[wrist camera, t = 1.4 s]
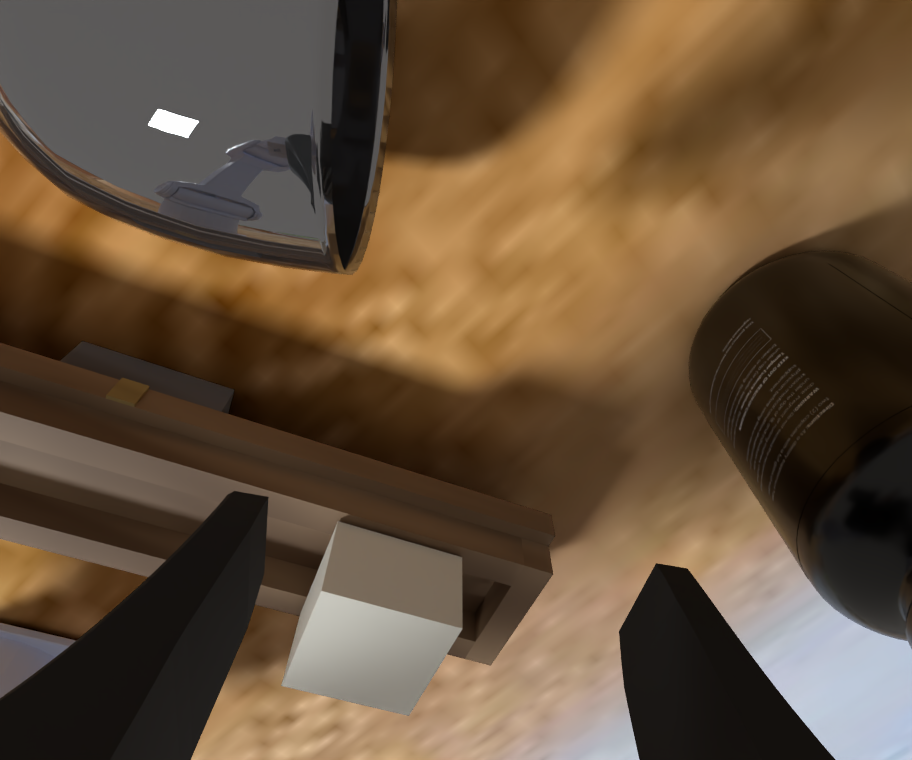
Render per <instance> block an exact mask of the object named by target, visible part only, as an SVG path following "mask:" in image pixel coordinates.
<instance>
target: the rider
mask: <svg viewBox="0 0 912 760" xmlns="http://www.w3.org/2000/svg"><path fill="white" fill-rule="evenodd" d="M462 629H463V624H462V557H459V556H456V555H453V554H449V553H446V552H442V551H439V550H435V549H432V548H428V547H425V546H422V545H418V544H415V543H411V542H408V541H404V540H401V539H397V538H394V537H391V536H387V535H384V534H380V533H377V532H373V531H370V530H366V529H363V528H360V527H356V526H353V525H349V524H346V523H342V522H339V521H338V522H337V525H336V527H335V529H334V532H333V534H332V537H331V539H330V542H329V544H328V547H327V549H326V552H325V554H324V557H323V559H322V561H321V564H320V566H319V569H318V571H317V574H316V576H315V579H314V581H313V584H312V586H311V588H310V591H309V593H308V596H307V598H306V601H305V603H304V606H303V608H302V611H301V613H300V617H299V621H298V624H297V628H296V632H295V636H294V640H293V643H292V647H291V651H290V655H289V659H288V662H287V666H286V670H285V674H284V678H283V681H282V685H281V686H284V687H289V688H293V689H297V690H301V691H306V692H310V693H314V694H318V695H323V696H327V697H331V698H335V699H339V700H344V701H348V702H352V703H356V704H361V705H365V706H369V707H373V708H378V709H382V710H386V711H390V712H395V713H399V714H403V715H407V716H409V715H410V713H411V711H412V710H413V708H414V707H415V705H416V703H417V702H418V700H419V698H420V697H421V695H422V694H423V692H424V690H425V689H426V687H427V685H428V684H429V682H430V681H431V679H432V677H433V676H434V674H435V673H436V671H437V669H438V668H439V666H440V664H441V663H442V661H443V660H444V658H445V656H446V655H447V653H448V651H449V650H450V648H451V647H452V645H453V643H454V642H455V640H456V638H457V637H458V635H459V634H460V632H461V630H462Z"/></svg>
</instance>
